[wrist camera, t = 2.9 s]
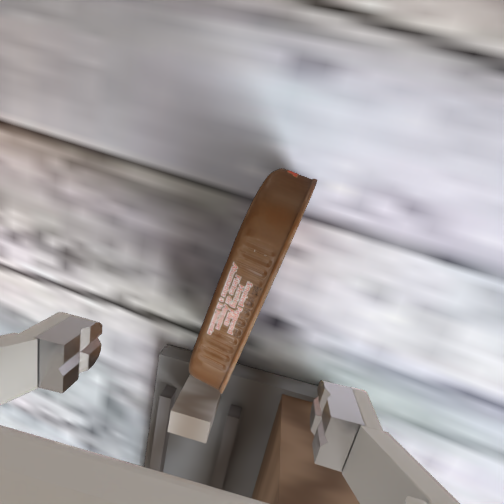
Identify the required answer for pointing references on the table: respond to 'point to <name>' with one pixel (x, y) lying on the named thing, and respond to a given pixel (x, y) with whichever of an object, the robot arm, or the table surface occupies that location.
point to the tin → (249, 275)
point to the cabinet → (239, 434)
